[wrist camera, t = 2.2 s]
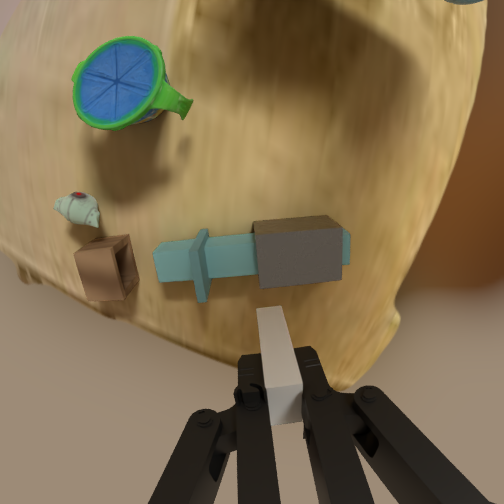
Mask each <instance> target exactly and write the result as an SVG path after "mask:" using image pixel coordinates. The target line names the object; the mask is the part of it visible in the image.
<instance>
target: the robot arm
mask: <svg viewBox="0 0 504 504" xmlns="http://www.w3.org/2000/svg"><path fill="white" fill-rule="evenodd" d="M445 1H447V2H450V3H454V4H458V5H466V4H473V3H477V2H480V1H483V0H445ZM256 312H257V321H258V329H259V338H260V347H261V353H258V354H249V355H242V356H241V358H240V359H239V361H238V386H237V387H236V388H235V390H234V398H235V402H236V403H235V405H234V406H233V407H231V408H230V409H227V410H225V411H222V412H219V413H217V412H216V411H214V410H211V409H202V410H198V411H196V412H194V413H193V414H192V415H191V416H190V418H189V420H188V422H187V424H186V426H185V428H184V430H183V432H182V434H181V437H180V439H179V441H178V443H177V445H176V447H175V449H174V451H173V453H172V455H171V457H170V460H169V462H168V464H167V466H166V468H165V470H164V472H163V474H162V476H161V478H160V480H159V482H158V484H157V486H156V488H155V490H154V492H153V494H152V496H151V498H150V501H149V502H148V504H213V503H214V501H215V498H216V495H217V492H218V489H219V486H220V483H221V480H222V477H223V474H224V471H225V467H226V465H227V462H228V458H229V455H230V452H232V451H235V450H237V480H238V482H237V483H238V504H281V501H280V494H279V486H278V479H277V470H276V462H275V454H274V446H273V438H272V431H271V426H272V425H281V424H288V423H295V422H301V421H302V419H303V423H304V432H303V439H306V444H307V449H308V453H309V457H310V462H311V467H312V472H313V476H314V481H315V485H316V491H317V495H318V500H319V504H374V501H373V498H372V494H371V491H370V488H369V485H368V482H367V479H366V477H365V474H364V471H363V468H362V465H361V462H360V459H359V456H358V454H357V451H356V448H355V446H356V447H357V448H358V450H359V451H360V453H361V454H362V456H363V457H364V458H365V459H366V461H367V462H368V464H369V465H370V466H371V468H372V469H373V470H374V472H375V473H376V474H377V475H378V477H379V478H380V480H381V481H382V482H383V483H384V484H385V486H386V487H387V489H388V490H389V491H390V493H391V494H392V495H393V497H394V498H395V499H396V500H397V502H398V503H399V504H495V503H492V502H489V501H488V500H487V499H486V498H485V497H484V496H483V495H482V494H481V493H480V492H479V491H478V490H477V489H476V488H475V486H474V485H473V484H472V483H471V482H470V481H469V480H468V479H467V478H466V477H465V476H464V475H463V474H462V473H461V472H460V471H459V470H458V469H457V468H456V467H455V466H454V465H453V464H452V463H451V462H450V461H449V460H448V459H447V458H446V457H445V456H444V455H443V454H442V453H441V452H440V450H439V449H438V448H437V447H436V446H435V445H434V444H433V443H432V442H431V441H430V440H429V439H428V438H427V437H426V436H425V435H424V434H423V433H422V432H421V431H420V430H419V429H418V428H417V427H416V426H415V425H414V424H413V423H412V422H411V420H410V419H409V418H407V417H406V415H405V414H403V412H402V411H401V410H400V409H399V408H398V407H397V406H396V405H395V404H394V403H393V402H392V401H391V400H390V399H389V398H388V397H387V396H386V395H385V394H384V392H382V391H381V390H380V389H379V388H377V387H375V386H363V387H360V388H359V389H357V390H356V392H355V393H340V392H337V391H335V390H333V388H331V387H330V386H329V384H328V382H327V379H326V376H325V374H324V371H323V368H322V366H321V363H320V360H319V358H318V355H317V352H316V351H315V350H314V349H313V348H312V347H311V346H306V347H300V348H293V345H292V342H291V338H290V335H289V331H288V327H287V324H286V320H285V317H284V313H283V309H282V306H281V305H280V306H272V307H264V308H256Z"/></svg>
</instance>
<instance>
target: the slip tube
mask: <svg viewBox="0 0 504 504" xmlns="http://www.w3.org/2000/svg"><path fill="white" fill-rule="evenodd" d="M153 257H154V262H155V267H156V271H157V275H158V280H159V283H160V282H173V281H186V280H194V285H195V290H196V296H197V300H198V303H201V302H207V299H208V294H209V290H210V286H211V281H212V278H222V277H233V276H244V275H254V274H259V273H258V262H257V251H256V240H255V233H249V234H239V235H229V236H219V237H209V233H208V229H201V230H200V231H199V233H198V235H197V237H196V239H190V240H180V241H171V242H162V243H161V244H160V245H159V246H158V247H157V248H156V249H155V250H154V252H153ZM349 264H350V233H349V232H347V231H346V230H345V229H344V228H343V252H342V265H349Z"/></svg>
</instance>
